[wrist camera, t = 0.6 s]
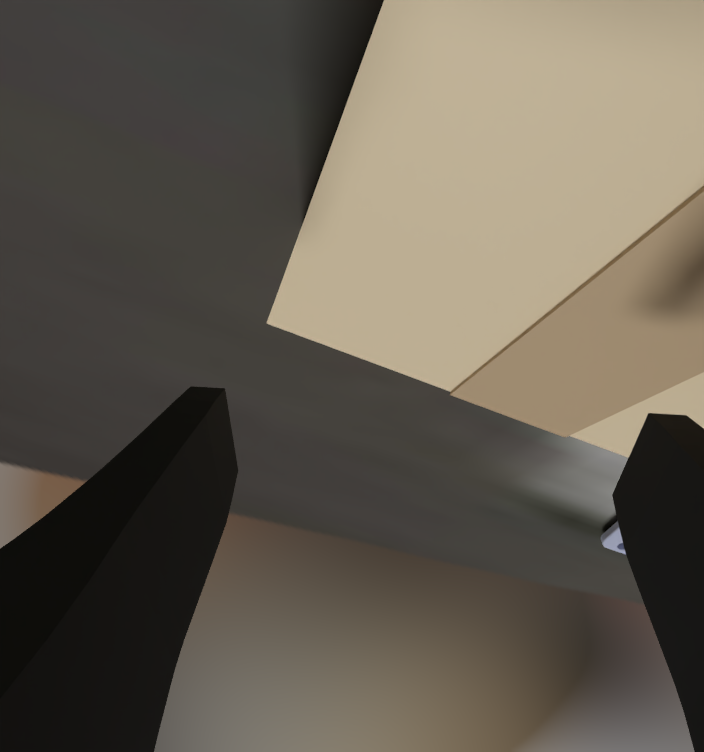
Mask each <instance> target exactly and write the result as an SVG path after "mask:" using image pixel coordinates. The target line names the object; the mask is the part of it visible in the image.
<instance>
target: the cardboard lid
mask: <svg viewBox="0 0 704 752" xmlns="http://www.w3.org/2000/svg"><path fill="white" fill-rule="evenodd" d="M267 324H270V325H272V326H275V327H278V328H280V329H283V330H286V331H289V332H291V333H294V334H297V335H299V336H302V337H305V338H307V339H310V340H313V341H315V342H318V343H321V344H324V345H326V346H329V347H332V348H334V349H337V350H340V351H342V352H345V353H348V354H350V355H353V356H356V357H359V358H361V359H364V360H367V361H369V362H372V363H375V364H377V365H380V366H383V367H386V368H388V369H391V370H394V371H396V372H399V373H402V374H404V375H407V376H410V377H412V378H415V379H418V380H421V381H423V382H426V383H429V384H431V385H434V386H437V387H439V388H442V389H445V390H447V391H450V395H452V396H454V397H457V398H460V399H463V400H465V401H468V402H471V403H473V404H476V405H479V406H481V407H484V408H487V409H490V410H492V411H495V412H498V413H500V414H503V415H506V416H508V417H511V418H514V419H517V420H519V421H522V422H525V423H527V424H530V425H533V426H535V427H538V428H541V429H544V430H546V431H549V432H552V433H554V434H557V435H560V436H563V437H565V438H566V437H568V436H571V437H574V438H577V439H579V440H582V441H585V442H588V443H590V444H593V445H596V446H598V447H601V448H604V449H606V450H609V451H612V452H614V453H617V454H620V455H623V456H625V457H628V458H629V456H630V454H631V452H632V449H633V447H634V445H635V442H636V440H637V438H638V436H639V433H640V431H641V429H642V427H643V424H644V422H645V420H646V417H647V415H648V413H657V414H675V415H687V416H688V417H689V418H691V419H692V420H693V421H695V422H696V423H697V424H698V425H700V426H701V427H702V428H704V0H384V2H383V4H382V7H381V10H380V13H379V15H378V18H377V21H376V24H375V26H374V29H373V32H372V35H371V38H370V40H369V43H368V46H367V49H366V51H365V54H364V57H363V60H362V62H361V65H360V68H359V71H358V73H357V76H356V79H355V82H354V84H353V87H352V90H351V93H350V95H349V98H348V101H347V104H346V106H345V109H344V112H343V115H342V117H341V120H340V123H339V126H338V128H337V131H336V134H335V137H334V139H333V142H332V145H331V148H330V150H329V153H328V156H327V159H326V161H325V164H324V167H323V170H322V172H321V175H320V178H319V181H318V183H317V186H316V189H315V192H314V194H313V197H312V200H311V203H310V205H309V208H308V211H307V214H306V216H305V219H304V222H303V225H302V227H301V230H300V233H299V236H298V238H297V241H296V244H295V247H294V249H293V252H292V255H291V258H290V260H289V263H288V266H287V269H286V271H285V274H284V277H283V280H282V282H281V285H280V288H279V291H278V293H277V296H276V299H275V302H274V304H273V307H272V310H271V313H270V315H269V318H268V321H267Z"/></svg>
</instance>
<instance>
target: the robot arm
mask: <svg viewBox="0 0 704 752" xmlns="http://www.w3.org/2000/svg"><path fill="white" fill-rule="evenodd" d="M237 473H238V467H237V460H236V454H235V448H234V442H233V436H232V429H231V423H230V417H229V411H228V405H227V399H226V392H225V388H207V387H190V388H189V389H188V390H186V391H185V392H184V393H183V394H182V395H181V396H180V397H179V398H178V399H176V400H175V401H174V402H173V403H172V404H171V405H170V406H169V407H168V408H167V409H166V410H165V411H164V412H163V413H162V414H161V415H160V416H158V417H157V418H156V419H155V420H154V421H153V422H152V423H151V424H150V425H149V426H148V427H147V428H146V429H145V430H144V431H143V432H142V433H140V434H139V435H138V436H137V437H136V438H135V439H134V440H133V441H132V442H131V443H130V444H129V445H127V446H126V447H125V448H124V449H123V450H122V451H121V452H120V453H119V454H117V455H116V456H115V457H114V458H113V459H112V460H111V461H110V462H109V463H107V464H106V465H105V466H104V467H103V468H102V469H101V470H100V471H99V472H97V473H96V474H95V475H94V476H93V477H92V478H90V479H89V480H88V481H87V482H86V483H84V484H83V485H82V486H81V487H80V488H78V489H77V490H76V491H75V492H73V493H72V494H71V495H70V496H69V497H67V498H66V499H65V500H64V501H63V502H61V503H60V504H59V505H58V506H57V507H55V508H54V509H53V510H52V511H50V512H49V513H48V514H47V515H46V516H44V517H43V518H42V519H40V520H39V521H38V522H36V523H35V524H34V525H32V526H31V527H30V528H28V529H27V530H26V531H24V532H23V533H22V534H20V535H19V536H18V537H16V538H15V539H14V540H12V541H11V542H9V543H8V544H6V545H5V546H3V547H2V548H1V549H0V752H154V748H155V744H156V740H157V736H158V732H159V728H160V724H161V720H162V716H163V713H164V709H165V705H166V701H167V697H168V693H169V689H170V685H171V682H172V678H173V674H174V670H175V667H176V663H177V661H178V657H179V654H180V651H181V648H182V645H183V641H184V639H185V636H186V633H187V630H188V628H189V625H190V622H191V619H192V617H193V614H194V611H195V608H196V606H197V603H198V600H199V597H200V595H201V592H202V589H203V586H204V584H205V581H206V578H207V575H208V573H209V570H210V567H211V564H212V561H213V559H214V556H215V553H216V550H217V547H218V545H219V542H220V539H221V536H222V533H223V530H224V527H225V525H226V522H227V518H228V513H229V509H230V505H231V501H232V496H233V492H234V487H235V482H236V478H237ZM612 496H613V500H614V505H615V510H616V515H617V520H618V521H617V522H616V523H615V524H614V525H612V526H611V527H610V528H609V529H608V530H607V531H606V532H604V533H603V534H602V536H601V541H602V544H603V546H604V547H606V548H608V549H611V550H614V551H617V552H620V553H623V554H626V555H627V558H628V561H629V564H630V566H631V569H632V572H633V574H634V577H635V580H636V583H637V585H638V588H639V591H640V593H641V596H642V599H643V601H644V604H645V607H646V609H647V612H648V614H649V617H650V620H651V622H652V625H653V628H654V630H655V633H656V636H657V638H658V641H659V644H660V646H661V649H662V651H663V654H664V657H665V659H666V662H667V665H668V667H669V670H670V673H671V675H672V678H673V681H674V683H675V686H676V689H677V692H678V695H679V698H680V701H681V704H682V707H683V710H684V713H685V717H686V721H687V725H688V728H689V732H690V736H691V740H692V743H693V747H694V750H695V752H704V428H702V427H701V426H700V425H698V424H697V423H696V422H695V421H693V420H692V419H691V418H689V417H688V416H687V415H675V414H657V413H648V415H647V417H646V420H645V422H644V424H643V427H642V429H641V431H640V433H639V436H638V438H637V440H636V442H635V445H634V447H633V449H632V452H631V454H630V456H629V458H628V461H627V463H626V465H625V467H624V470H623V472H622V474H621V476H620V479H619V481H618V483H617V486H616V488H615V490H614V492H613V495H612Z"/></svg>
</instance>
